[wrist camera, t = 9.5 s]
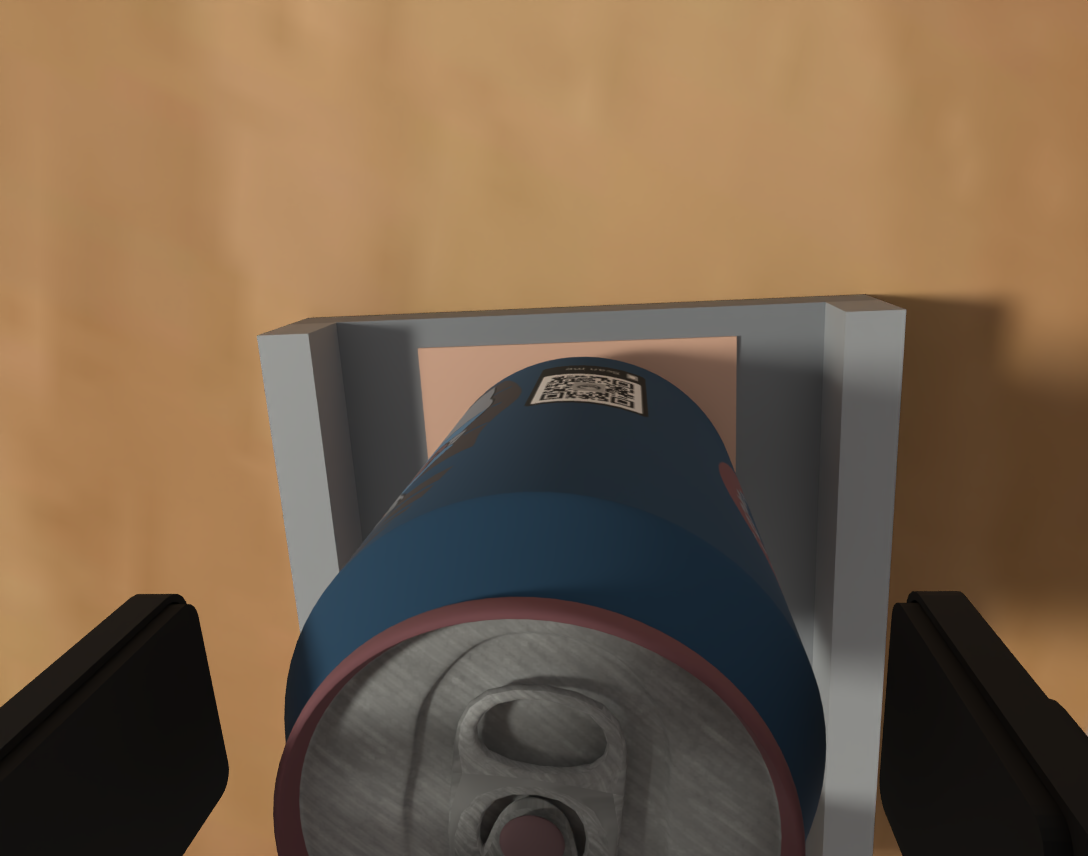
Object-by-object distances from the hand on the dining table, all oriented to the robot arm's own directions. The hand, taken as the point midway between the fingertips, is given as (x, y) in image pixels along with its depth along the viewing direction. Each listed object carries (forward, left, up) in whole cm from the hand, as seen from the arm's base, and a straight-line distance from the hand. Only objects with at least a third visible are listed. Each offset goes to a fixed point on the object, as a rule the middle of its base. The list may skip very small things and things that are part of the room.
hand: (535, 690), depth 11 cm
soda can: (0, 0, -10) cm, 10 cm away
